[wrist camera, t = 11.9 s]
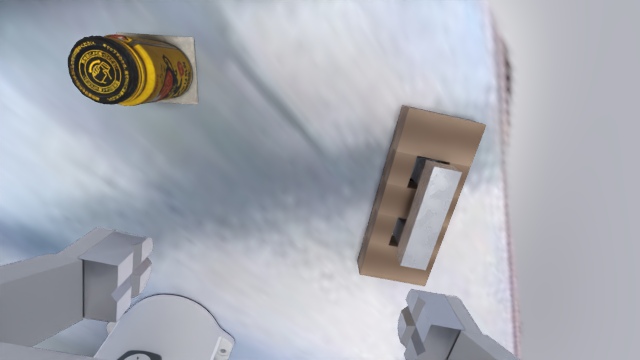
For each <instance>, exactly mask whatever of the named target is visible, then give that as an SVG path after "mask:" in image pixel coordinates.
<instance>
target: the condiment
mask: <svg viewBox="0 0 640 360" xmlns="http://www.w3.org/2000/svg"><path fill="white" fill-rule="evenodd" d="M116 34H117V35H115V34H114V35H106V36H104V37H102V36H90V37H84V38H83V39H81V40H79V41H78V42H76V44H75V45H74V47H73V48H72V50H71V52H70V55H69V57H68V68H69V74H70V76H71V79H72V82H73V83H74V85H75V86H76V87H77V88H78V90H79V91H80V92H81V93H82V94H83V95H84V96H86V97H88V98H90V99H92V100H94V101H95V102H98V103H103V104H110V105H111V104H120V105H124V106H134V105H139V104H143V103H150V102H166V103H183V104H198V96H197V94H198V93H197V76H196V62H195V53H194V37H177V36H162V35H148V34H131V33H117V32H116Z"/></svg>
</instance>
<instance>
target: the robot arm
mask: <svg viewBox="0 0 640 360" xmlns="http://www.w3.org/2000/svg"><path fill="white" fill-rule="evenodd" d="M152 251H153V240H152V239H151V238H150V237H145V236H140V235H136V234H131V233H126V232H122V231H116V230H113V229H107V228H102V227H99V228H95V229H93V230H92V231H90V232H89V233H87V234H86V235H84V236H83V237H82V238H80V239H79V240H77V241H76V242H74V243H73V244H71V245H70V246H68V247H67V248H65V249H64V250H62V251H61V252H59V253H58V254H56V255H54V254H47V255H43V256H39V257H35V258H31V259H27V260H23V261H19V262H14V263H10V264H6V265H2V266H0V360H228V358H229V356H230V353H231V351H232V349H233V346H234V344H235V341H234V339H233V338H232V337H231V336H230V335H229V334H228V333H226V332H225V331H223V330H222V329H221V328H220V327H219V326H218V324H217V322H216V321H215V319H214V318H213V316H212V315H211V314H210V313H209V312H208V311H207V310H206V309H205V308H203V307H202V306H200V305H199V304H197V303H196V302H194V301H191V300H189V299H187V298H183V297H180V296H174V295H156V296H151V297H148V298H145V299H143V300H141V301H139V302H138V303H136V304H135V305H134V306H133V307H132V308H131V309H130V310H129V311H128V312H126V310H127V309H128V308H129V307H130V305H131V298H133V297H135V296H138V295H139V294H140V293H141V292H142V291H143V289H144V288H145V286H146V284H147V282H148V280H149V277H150V273H151V266H152V263H151V262H150V260H149V258H148V257H147V256H148V255H149V254H150V253H151V252H152ZM406 302H407V304H408V306H407V307H406V308H404V309H403V310H402V311H401V313H400V316H399V319H398V336H399V339H400V342H401V343H402V344H403V345H404V346H405V347H406V351H405V353H404V356H405V359H406V360H520V359H518V358H517V357H516V356H514V355H513V354H512V353H510V352H509V351H508V350H506V349H505V348H504V347H503V346H501V345H500V344H499V343H497V342H496V341H495V340H493V339H492V338H491V337H489V336H488V335H483V334H482V332H481V331H480V329H479V328H478V326H477V324H476V323H475V321H474V320H473V318H472V317H471V315H470V314H469V312H468V310H467V309H466V307H465V306H464V304H463V303H462V301H461V300H460V299H459V298H458V297H457V296H451V295H445V294H437V293H431V292H426V291H420V290H414V289H411V290H410V291H409V293H408V295H407V297H406ZM125 312H126V313H125ZM124 313H125V314H124ZM83 318H86V319H93V320H100V321H107V322H109V323H108V325H107V332H108V337H107V338H106V340H105V341H104V343H103V344H102V346H101V347H100V348H99V350H98V351H97V353H96V354H95V356H94V357H88V356H81V355H75V354H69V353H63V352H57V351H51V350H45V349H40V348H34V347H32V346H34V345H36V344H38V343H40V342H42V341H44V340H46V339H47V338H49V337H51V336H53V335H55V334H57V333H59V332H61V331H62V330H64V329H66V328H68V327H70V326H72V325H74V324H76V323H77V322H79V321H81V320H83Z"/></svg>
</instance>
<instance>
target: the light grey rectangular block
mask: <svg viewBox="0 0 640 360" xmlns="http://www.w3.org/2000/svg"><path fill="white" fill-rule="evenodd" d="M461 174H462V172H461V171H459V170H458V169H457V168H455V167H454V166H452V165H447V164H442V163H437V162H434V161H433V160H429V159H424V158H419V157H417V158H416V161H415V164H414V167H413V170H412V174H411V178H412V179H413V180H414V181H415V182H416V183H417V185H418V187H417V190H416V193H415V196H414V199H413V202H412V205H411V208H410V211H409V214H408V217H407V219H404V218H399V217H397V220H396V223H395V227H394V230H393V235H394V237H395V239H396V241H397V244H398V248H397V251H396V256H397V258H398V261H399V263H400V266H405V267H411V268H416V269H422V270H426V268H427V265H428V263H429V260H430V257H431V255H432V252H433V249H434V247H435V244H436V241H437V239H438V236H439V233H440V231H441V228H442V225H443V222H444V220H445V217H446V214H447V212H448V209H449V206H450V204H451V201H452V198H453V196H454V193H455V190H456V188H457V185H458V182H459V180H460V177H461Z"/></svg>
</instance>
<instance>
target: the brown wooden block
mask: <svg viewBox="0 0 640 360" xmlns="http://www.w3.org/2000/svg"><path fill="white" fill-rule="evenodd" d="M485 127H486V125H485V124H482V123H479V122H475V121H471V120H467V119H462V118H458V117H453V116H449V115H444V114H440V113H435V112H431V111H426V110H422V109H417V108H413V107H408V106H404V105H402V109H401V112H400V116H399V119H398V123H397V126H396V130H395V133H394V136H393V140H392V143H391V147H390V150H389V154H388V157H387V161H386V164H385V167H384V171H383V174H382V178H381V181H380V185H379V188H378V192H377V195H376V199H375V202H374V205H373V209H372V212H371V216H370V219H369V223H368V226H367V230H366V233H365V236H364V240H363V243H362V247H361V250H360V254H359V257H358V261H357V263H358V268H359V273H360V275H366V276H371V277H377V278H382V279H388V280H393V281H399V282H404V283H410V284H415V285H421V286H425V285H426V282H427V280H428V277H429V274H430V272H431V269H432V267H433V264H434V261H435V259H436V256H437V253H438V251H439V248H440V246H441V243H442V240H443V238H444V235H445V232H446V230H447V227H448V225H449V222H450V219H451V217H452V214H453V211H454V209H455V206H456V204H457V201H458V198H459V196H460V193H461V190H462V188H463V185H464V182H465V180H466V177H467V175H468V172H469V169H470V167H471V164H472V161H473V159H474V156H475V154H476V151H477V148H478V146H479V143H480V140H481V138H482V135H483V133H484V130H485ZM417 156H421V157H426V158H431V159H436V160H439V163H442V164H447V165H452V166H454V167H455V168H457V169H458V170H459V171H461V172H462V174H461V177H460V180H459V182H458V185H457V188H456V190H455V193H454V196H453V198H452V201H451V204H450V206H449V209H448V212H447V214H446V217H445V220H444V222H443V225H442V228H441V231H440V233H439V236H438V239H437V241H436V244H435V247H434V249H433V252H432V255H431V257H430V260H429V263H428V265H427V268H426V270H422V269H416V268H411V267H405V266H400V263H399V261H398V258H397V256H396V251H397V248H398V244H397V241H396V239H395V237H394V236H393V235H392V233H393V230H394V227H395V223H396V220H397V217H399V218H404V219H407V217H408V214H409V211H410V208H411V205H412V202H413V199H414V196H415V193H416V190H417V187H418V185H417V183H416V182H411V181H409V180H410V177H411V174H412V170H413V167H414V164H415V161H416V158H417Z"/></svg>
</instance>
